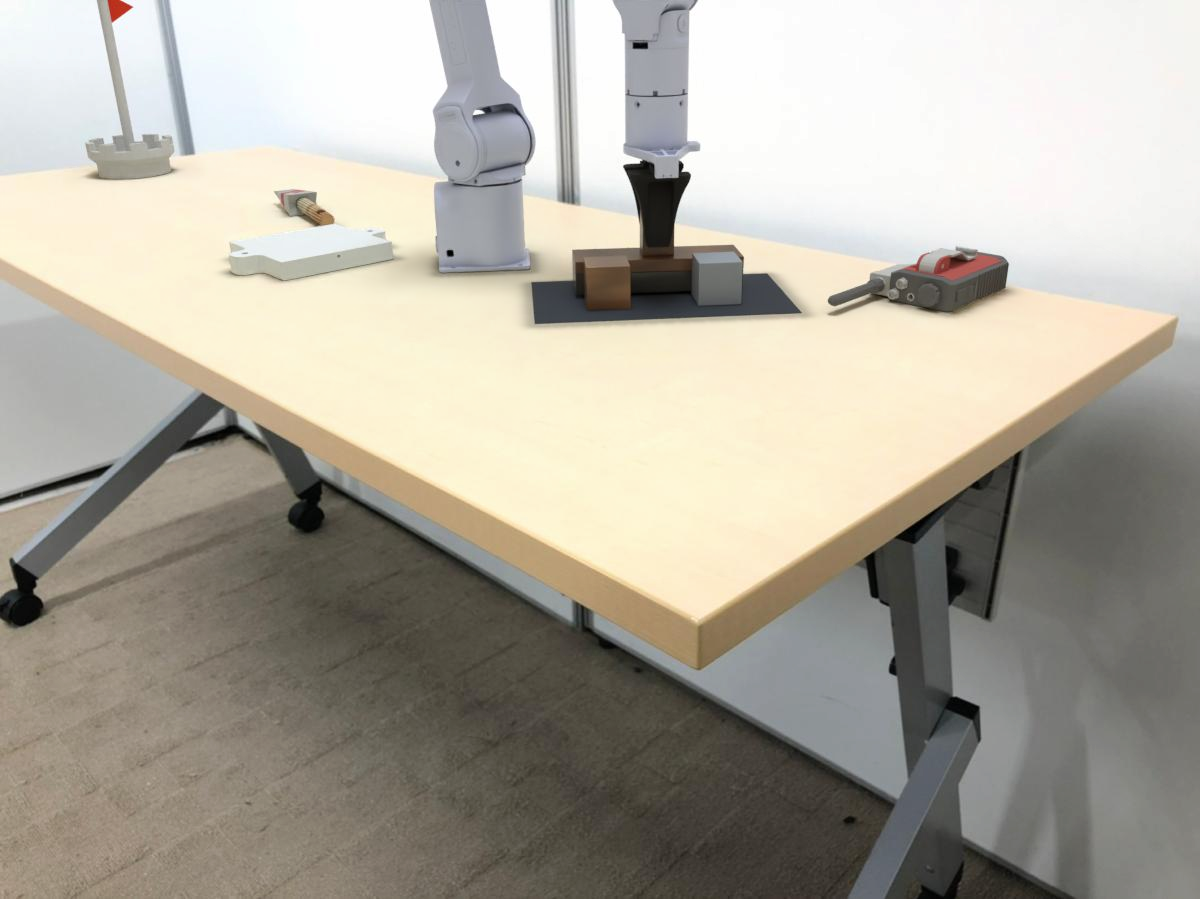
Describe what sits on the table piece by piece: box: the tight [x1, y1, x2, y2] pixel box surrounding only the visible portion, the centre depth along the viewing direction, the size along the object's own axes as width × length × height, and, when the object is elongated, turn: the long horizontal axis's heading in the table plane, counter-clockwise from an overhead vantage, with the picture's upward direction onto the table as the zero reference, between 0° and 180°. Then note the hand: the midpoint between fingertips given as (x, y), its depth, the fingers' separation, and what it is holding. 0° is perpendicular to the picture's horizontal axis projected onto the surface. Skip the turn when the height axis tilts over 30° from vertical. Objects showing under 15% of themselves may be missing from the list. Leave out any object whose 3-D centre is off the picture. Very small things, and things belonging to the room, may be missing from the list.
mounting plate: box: [228, 223, 394, 282], centre depth 117 cm, size 18×13×2 cm
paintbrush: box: [273, 188, 335, 226], centre depth 140 cm, size 4×3×20 cm
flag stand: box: [84, 0, 175, 180], centre depth 167 cm, size 13×13×30 cm
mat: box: [530, 272, 803, 325], centre depth 101 cm, size 24×14×1 cm, turn 95°
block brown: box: [583, 256, 631, 310], centre depth 98 cm, size 4×4×4 cm
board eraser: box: [571, 210, 745, 295], centre depth 102 cm, size 16×5×7 cm, turn 95°
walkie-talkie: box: [827, 245, 1010, 313], centre depth 98 cm, size 9×4×20 cm
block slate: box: [691, 252, 744, 306], centre depth 99 cm, size 4×4×4 cm
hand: (655, 242), depth 101 cm, fingers closed on board eraser, 2 cm apart
